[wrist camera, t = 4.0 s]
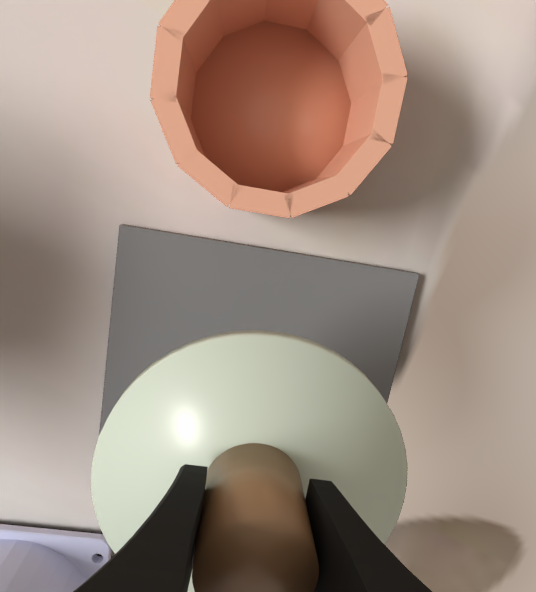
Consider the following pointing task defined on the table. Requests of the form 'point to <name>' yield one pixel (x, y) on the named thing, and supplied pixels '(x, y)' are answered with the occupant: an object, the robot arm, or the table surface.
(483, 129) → the table surface
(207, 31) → the bowl
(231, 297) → the mat
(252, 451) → the lid
